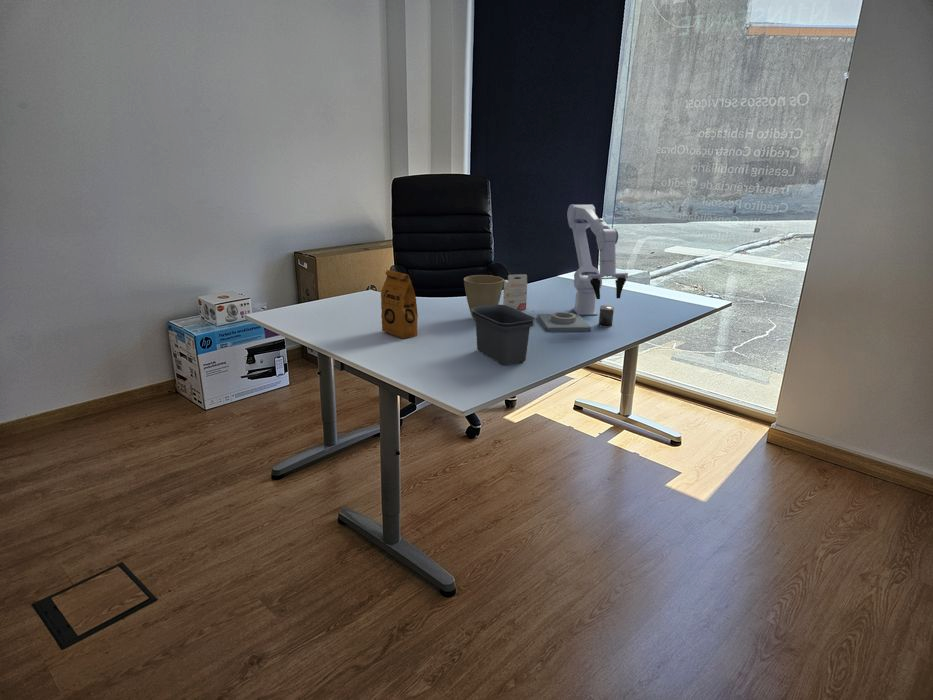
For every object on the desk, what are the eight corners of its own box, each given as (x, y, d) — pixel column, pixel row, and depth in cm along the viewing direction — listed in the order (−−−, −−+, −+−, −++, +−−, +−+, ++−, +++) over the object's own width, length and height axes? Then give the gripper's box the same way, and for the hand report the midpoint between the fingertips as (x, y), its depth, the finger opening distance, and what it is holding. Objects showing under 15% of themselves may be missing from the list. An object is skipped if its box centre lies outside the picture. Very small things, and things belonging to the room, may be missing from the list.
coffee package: (399, 341, 203) (398, 277, 195) (378, 332, 211) (376, 271, 204) (422, 335, 209) (422, 273, 202) (400, 327, 218) (399, 267, 210)
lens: (596, 322, 229) (598, 305, 227) (609, 322, 229) (611, 305, 227) (600, 326, 224) (602, 308, 222) (614, 326, 225) (616, 308, 222)
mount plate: (537, 317, 234) (538, 308, 233) (577, 317, 235) (578, 308, 234) (547, 331, 217) (548, 322, 216) (590, 331, 218) (591, 322, 217)
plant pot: (499, 314, 237) (501, 274, 231) (504, 325, 223) (506, 283, 217) (461, 314, 235) (462, 274, 230) (464, 325, 221) (465, 283, 216)
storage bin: (465, 349, 197) (466, 307, 192) (505, 342, 204) (507, 301, 199) (500, 370, 179) (502, 324, 175) (542, 362, 187) (545, 318, 182)
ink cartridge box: (521, 306, 249) (523, 271, 244) (526, 309, 244) (528, 274, 239) (502, 307, 247) (503, 272, 242) (506, 310, 242) (508, 275, 237)
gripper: (591, 261, 216) (592, 299, 218) (630, 260, 218) (631, 297, 219) (585, 263, 223) (586, 299, 225) (623, 261, 225) (624, 298, 226)
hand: (608, 298), depth 222 cm, fingers open, 7 cm apart
